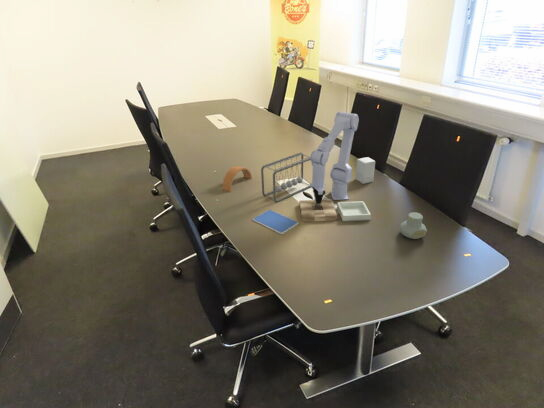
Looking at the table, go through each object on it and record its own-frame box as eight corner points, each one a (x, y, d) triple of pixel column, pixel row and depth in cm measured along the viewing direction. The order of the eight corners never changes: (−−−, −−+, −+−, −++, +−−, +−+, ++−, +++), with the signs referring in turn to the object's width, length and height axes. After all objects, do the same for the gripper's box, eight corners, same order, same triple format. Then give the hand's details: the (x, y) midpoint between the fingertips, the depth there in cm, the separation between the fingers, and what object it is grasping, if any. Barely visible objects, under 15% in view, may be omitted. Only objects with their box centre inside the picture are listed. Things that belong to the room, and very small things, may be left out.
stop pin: (312, 205, 175) (313, 189, 171) (321, 204, 175) (321, 188, 171) (313, 209, 172) (314, 193, 167) (322, 209, 172) (323, 192, 167)
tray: (337, 207, 178) (337, 202, 177) (363, 206, 178) (363, 201, 177) (342, 221, 167) (343, 215, 165) (370, 220, 167) (370, 214, 165)
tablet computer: (251, 221, 171) (251, 218, 170) (269, 210, 178) (269, 208, 178) (281, 236, 159) (281, 233, 158) (299, 224, 167) (299, 222, 166)
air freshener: (406, 242, 151) (410, 222, 146) (395, 232, 158) (398, 212, 153) (428, 237, 153) (433, 218, 148) (416, 227, 160) (420, 208, 155)
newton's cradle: (274, 203, 184) (273, 172, 175) (262, 196, 191) (260, 166, 182) (315, 185, 200) (316, 156, 191) (302, 180, 207) (302, 151, 199)
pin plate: (299, 204, 182) (299, 200, 180) (330, 203, 182) (330, 199, 181) (302, 221, 168) (303, 217, 166) (336, 219, 168) (337, 215, 167)
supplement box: (373, 181, 202) (376, 161, 196) (362, 184, 200) (364, 163, 194) (366, 176, 208) (368, 156, 202) (355, 179, 206) (357, 158, 200)
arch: (222, 189, 200) (220, 173, 195) (244, 176, 214) (243, 161, 209) (230, 192, 197) (228, 175, 192) (252, 178, 211) (251, 163, 206)
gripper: (308, 169, 171) (307, 194, 178) (312, 182, 159) (311, 208, 165) (322, 168, 171) (321, 193, 178) (327, 181, 159) (326, 208, 166)
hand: (317, 201), depth 172 cm, fingers closed on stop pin, 4 cm apart
